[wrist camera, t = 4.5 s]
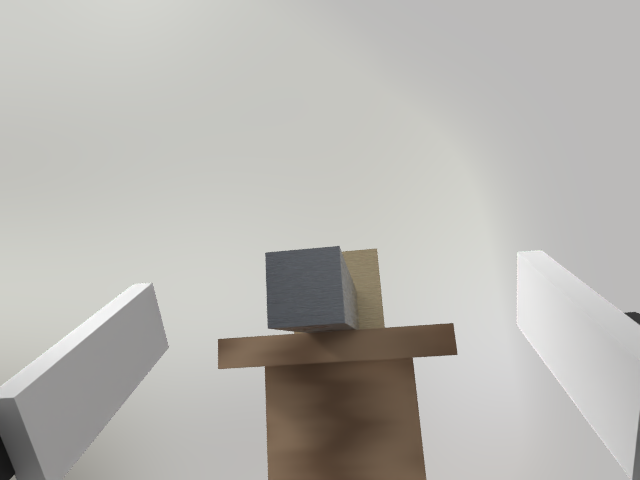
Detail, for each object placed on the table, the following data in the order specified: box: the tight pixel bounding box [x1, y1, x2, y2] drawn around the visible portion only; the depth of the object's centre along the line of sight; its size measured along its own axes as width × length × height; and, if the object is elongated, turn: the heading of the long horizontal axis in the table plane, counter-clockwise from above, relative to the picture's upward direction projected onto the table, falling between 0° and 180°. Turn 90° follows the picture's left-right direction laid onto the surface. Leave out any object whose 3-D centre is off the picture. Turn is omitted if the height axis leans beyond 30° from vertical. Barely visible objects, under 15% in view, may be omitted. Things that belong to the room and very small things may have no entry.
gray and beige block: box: [265, 246, 385, 334], centre depth 22 cm, size 6×16×5 cm, turn 173°
